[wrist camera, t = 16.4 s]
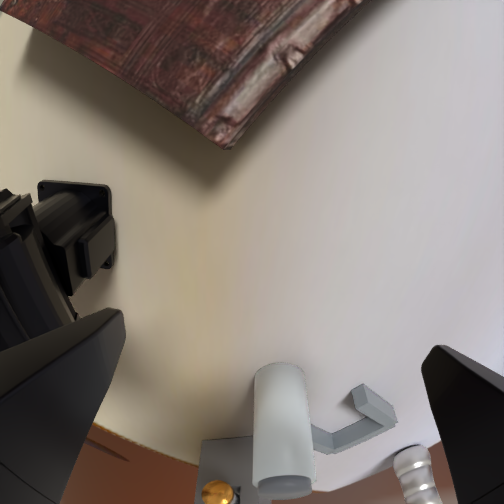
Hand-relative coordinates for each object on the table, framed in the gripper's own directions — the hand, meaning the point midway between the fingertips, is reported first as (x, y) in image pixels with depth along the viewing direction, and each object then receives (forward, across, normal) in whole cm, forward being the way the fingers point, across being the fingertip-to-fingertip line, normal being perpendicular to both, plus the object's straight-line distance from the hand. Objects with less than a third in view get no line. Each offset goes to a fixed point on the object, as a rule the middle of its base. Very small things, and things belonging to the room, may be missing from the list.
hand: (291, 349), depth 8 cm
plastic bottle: (+13, +32, -38) cm, 51 cm away
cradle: (+13, +13, -24) cm, 30 cm away
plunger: (+6, +2, -33) cm, 34 cm away
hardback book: (+14, -4, +20) cm, 25 cm away
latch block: (+13, +2, -34) cm, 36 cm away
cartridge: (+13, +4, -18) cm, 22 cm away
